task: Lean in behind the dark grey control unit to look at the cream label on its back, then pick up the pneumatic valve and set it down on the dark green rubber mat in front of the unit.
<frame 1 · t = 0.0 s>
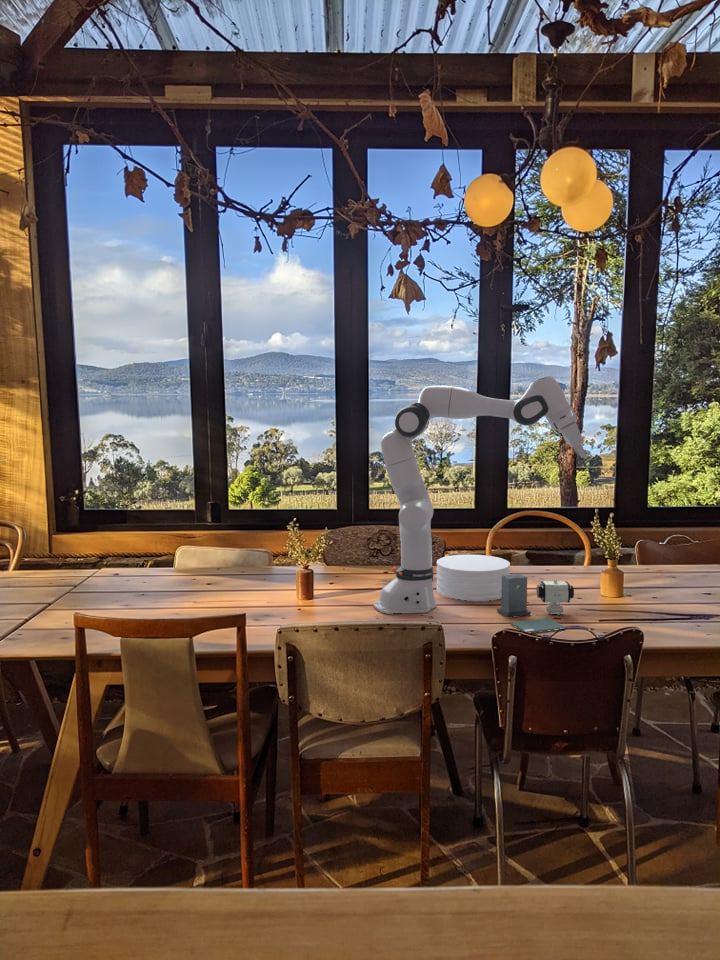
hand: (582, 456, 228), 54 cm above the table, tool tilted 30°, fingers open, 8 cm apart
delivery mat: (537, 627, 220), on the table
control unit: (513, 613, 234), on the table
pneumatic valve: (554, 614, 233), on the table
plate stack: (472, 591, 264), on the table
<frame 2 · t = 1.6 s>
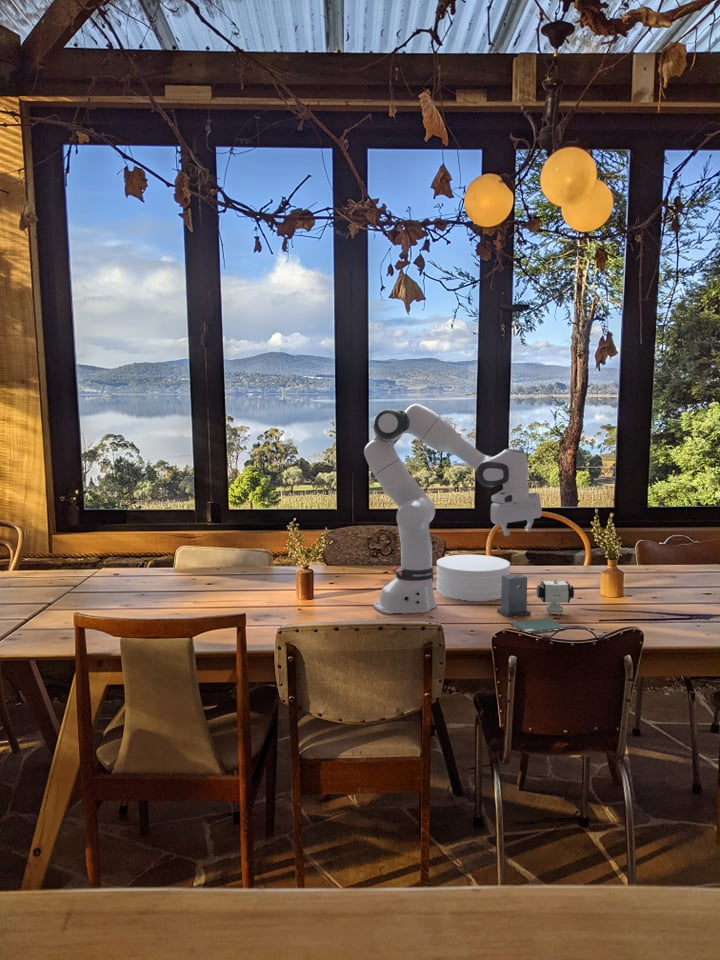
hand: (517, 533, 240), 26 cm above the table, tool pointing down, fingers open, 8 cm apart
nothing on the table moved.
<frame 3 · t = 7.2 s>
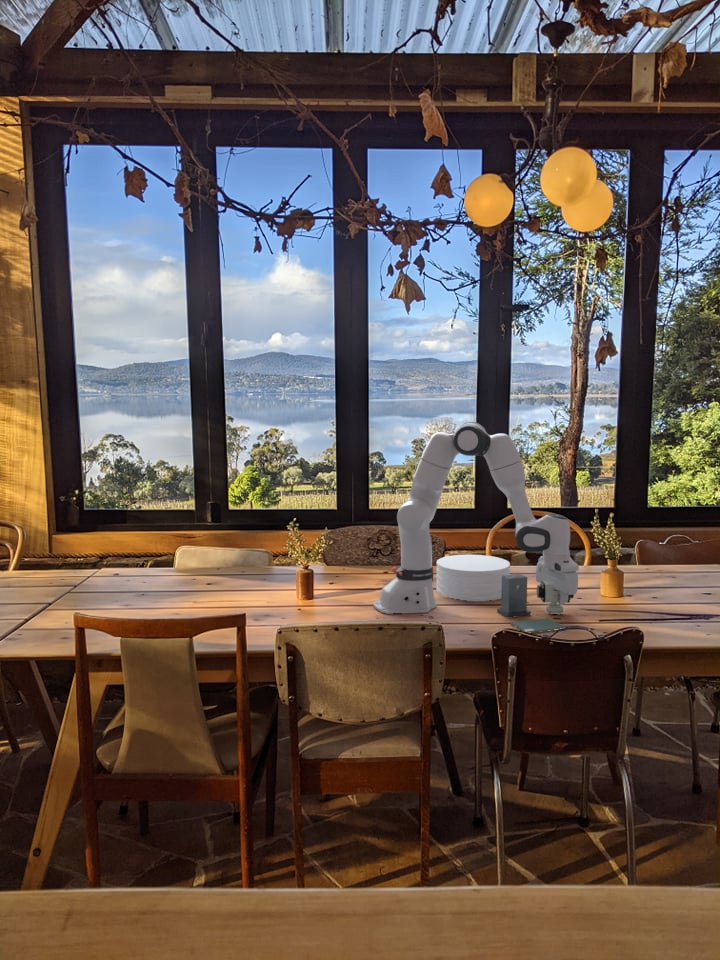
hand: (555, 600, 233), 5 cm above the table, tool pointing down, fingers open, 6 cm apart
pneumatic valve: (554, 614, 233), on the table, touching gripper
everything else where it was.
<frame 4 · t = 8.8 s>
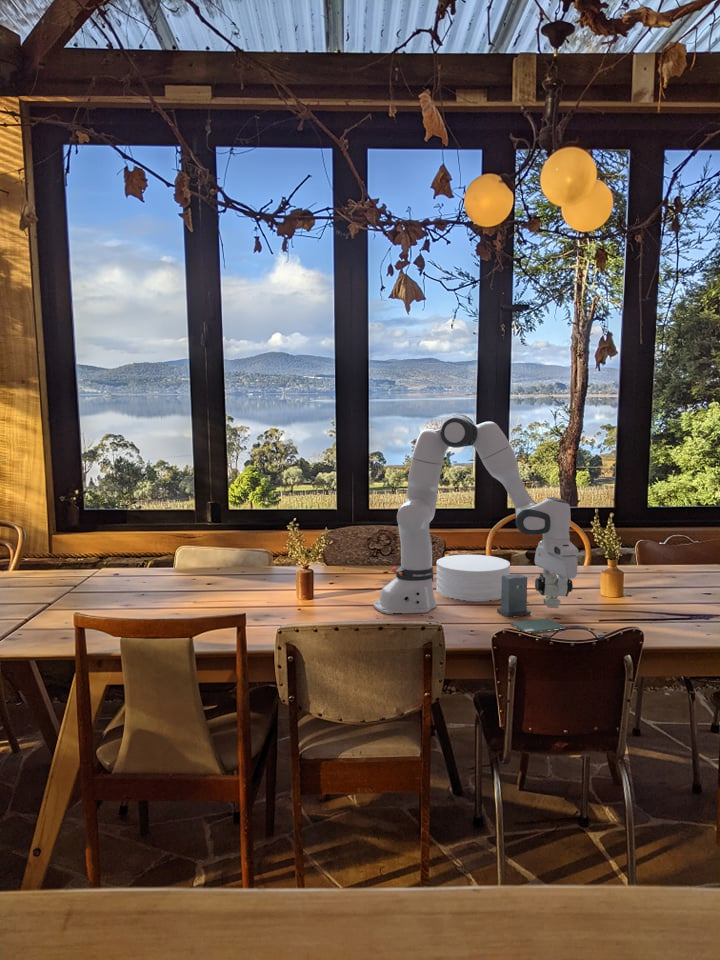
hand: (553, 585, 232), 10 cm above the table, tool pointing down, fingers closed on pneumatic valve, 5 cm apart
pneumatic valve: (551, 607, 234), point 2 cm above the table, touching gripper
everything else where it was.
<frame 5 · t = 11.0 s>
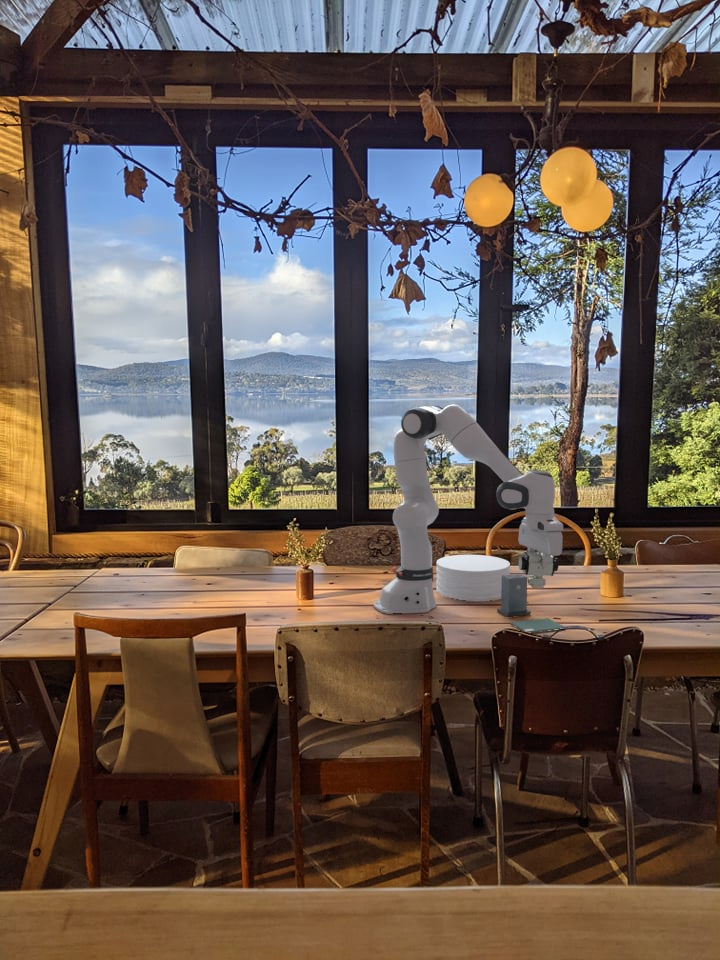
hand: (538, 563, 218), 21 cm above the table, tool pointing down, fingers closed on pneumatic valve, 5 cm apart
pneumatic valve: (536, 588, 219), point 13 cm above the table, touching gripper
everything else where it was.
when the fingers open (9 cm above the table, at t = 13.0 s): pneumatic valve stays where it is, resting on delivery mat.
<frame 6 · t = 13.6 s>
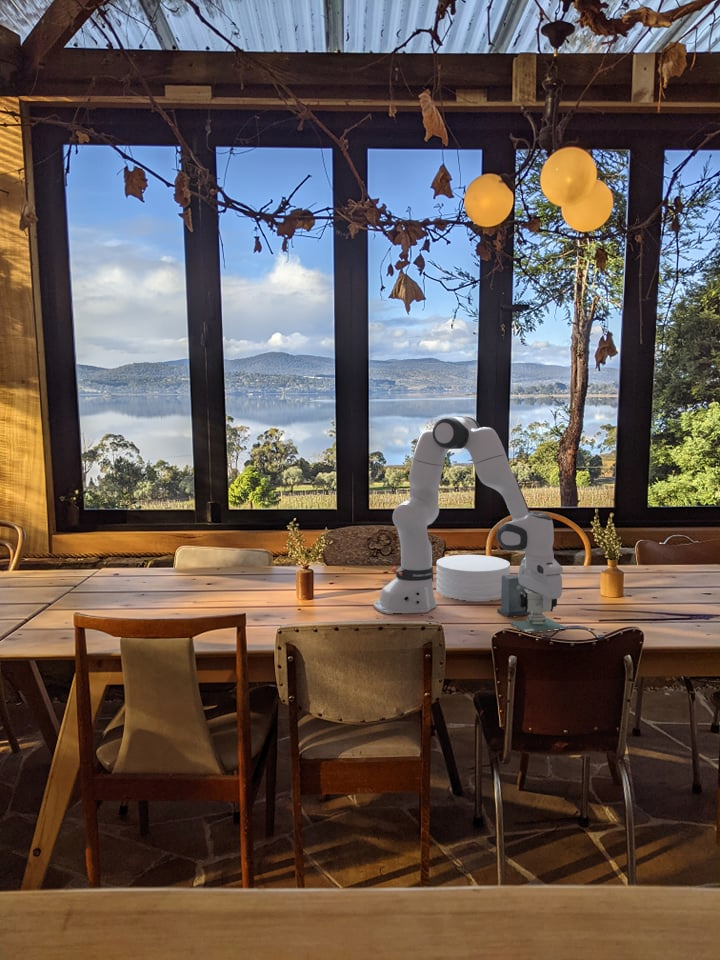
hand: (538, 605, 219), 7 cm above the table, tool pointing down, fingers open, 6 cm apart
pneumatic valve: (537, 624, 220), point 1 cm above the table, touching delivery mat, gripper
everything else where it was.
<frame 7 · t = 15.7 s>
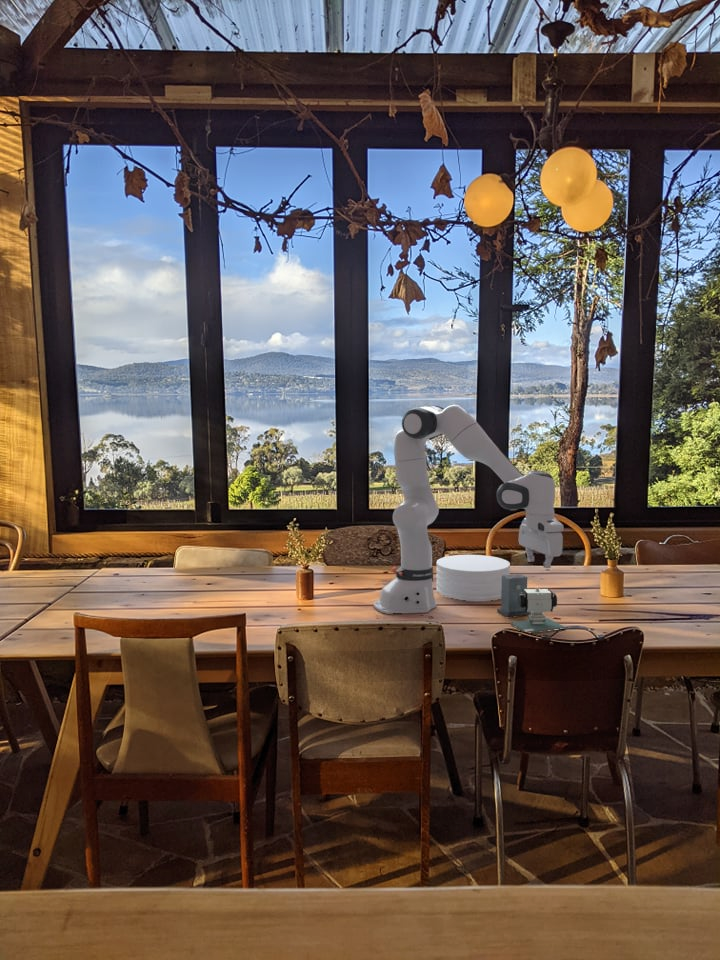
hand: (538, 564, 218), 21 cm above the table, tool pointing down, fingers open, 8 cm apart
pneumatic valve: (537, 624, 220), point 1 cm above the table, touching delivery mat
everything else where it was.
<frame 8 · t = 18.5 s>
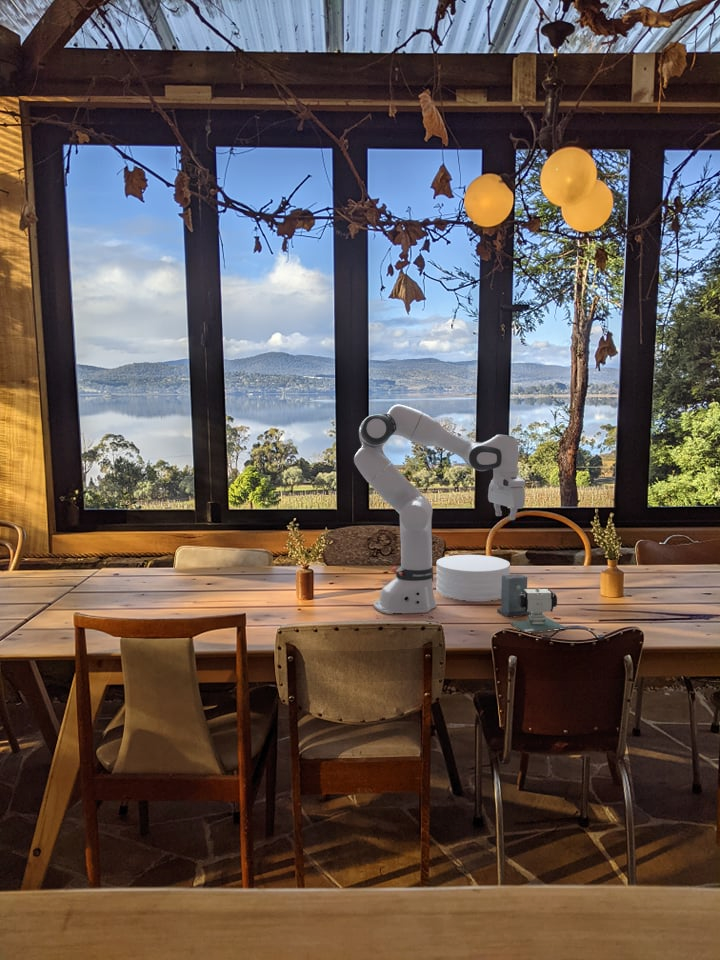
hand: (505, 517, 245), 31 cm above the table, tool pointing down, fingers open, 8 cm apart
nothing on the table moved.
at the end: pneumatic valve inside the target area on the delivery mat (0.6 cm from its centre), point 0.6 cm above the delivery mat's base; pneumatic valve tilted 0°; the gripper is holding nothing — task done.
